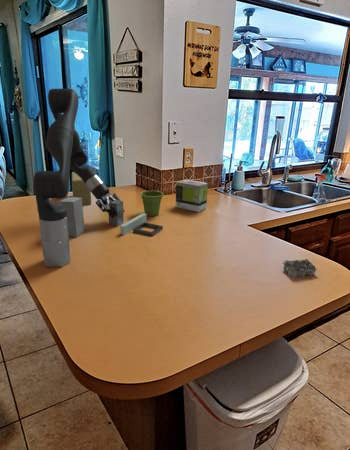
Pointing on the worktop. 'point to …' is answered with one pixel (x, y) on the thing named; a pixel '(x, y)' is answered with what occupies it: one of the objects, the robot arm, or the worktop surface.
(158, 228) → the frame
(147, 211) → the plant pot
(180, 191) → the tea box
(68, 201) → the skincare box
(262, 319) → the worktop surface
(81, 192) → the cheese
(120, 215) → the block
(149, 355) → the worktop surface
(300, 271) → the egg carton
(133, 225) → the door edge
